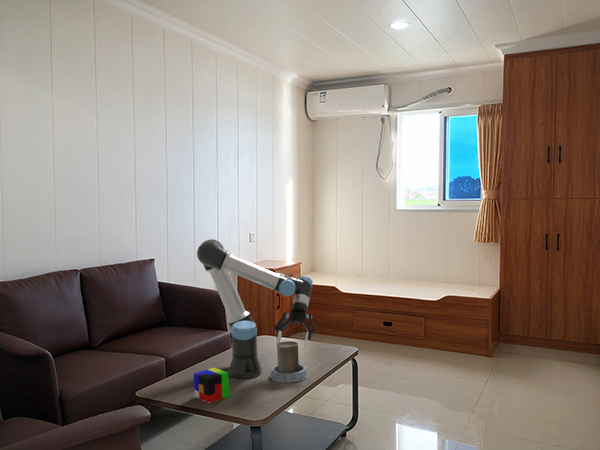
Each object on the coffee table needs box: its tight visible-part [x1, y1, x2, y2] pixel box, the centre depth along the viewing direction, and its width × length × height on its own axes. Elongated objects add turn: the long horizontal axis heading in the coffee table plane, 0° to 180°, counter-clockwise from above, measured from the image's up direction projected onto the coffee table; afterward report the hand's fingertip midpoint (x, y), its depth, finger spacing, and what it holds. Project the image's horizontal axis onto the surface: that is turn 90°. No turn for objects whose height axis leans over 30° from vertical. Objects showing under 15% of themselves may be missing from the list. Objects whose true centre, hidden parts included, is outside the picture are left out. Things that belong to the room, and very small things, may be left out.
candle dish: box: [269, 363, 309, 384], centre depth 232 cm, size 17×17×4 cm
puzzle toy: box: [193, 367, 230, 403], centre depth 210 cm, size 10×10×10 cm
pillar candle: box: [276, 340, 300, 373], centre depth 232 cm, size 10×10×15 cm
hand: (291, 345), depth 233 cm, fingers open, 13 cm apart
